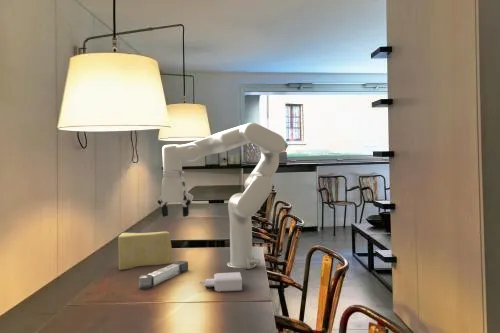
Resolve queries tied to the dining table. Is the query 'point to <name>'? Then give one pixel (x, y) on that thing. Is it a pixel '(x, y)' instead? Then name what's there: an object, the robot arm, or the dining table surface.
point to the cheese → (144, 249)
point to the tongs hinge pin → (145, 281)
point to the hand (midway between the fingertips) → (175, 216)
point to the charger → (225, 282)
